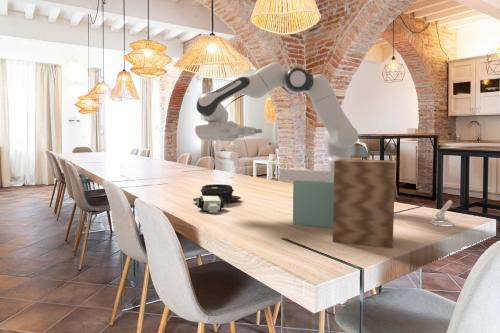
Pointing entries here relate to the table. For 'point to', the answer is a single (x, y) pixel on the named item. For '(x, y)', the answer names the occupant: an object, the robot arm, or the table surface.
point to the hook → (442, 215)
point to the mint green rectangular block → (313, 203)
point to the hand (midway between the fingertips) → (258, 131)
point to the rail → (307, 175)
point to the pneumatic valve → (210, 203)
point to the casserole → (219, 192)
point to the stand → (364, 202)
